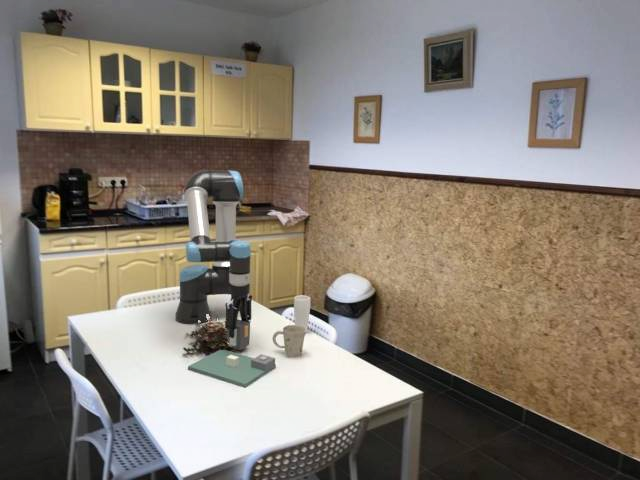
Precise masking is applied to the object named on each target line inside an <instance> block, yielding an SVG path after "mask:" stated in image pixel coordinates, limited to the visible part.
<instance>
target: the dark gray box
mask: <svg viewBox="0 0 640 480" xmlns="http://www.w3.org/2000/svg"><path fill="white" fill-rule="evenodd" d="M235 329H237V344H236V346H232V345H231V346H232V347H231V348H232V349H236V350H238V351H239V350H240V351H241V350H243V349H245V348H248V346H250V340H251V339H250V335H251V334H250V333H251V322H250V323H249V322H246V321H242V320H241V319H238V318H237V323H236V328H235ZM225 337H227V340H228V343H229V340H230V337H229V329H226V335H225Z"/></svg>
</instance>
